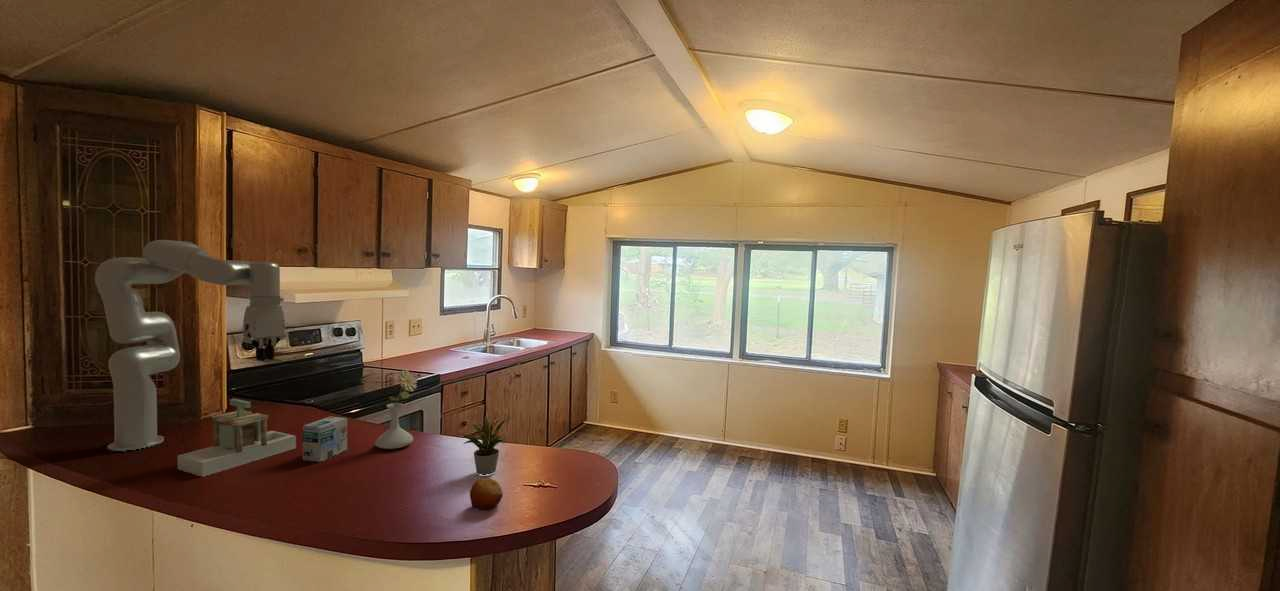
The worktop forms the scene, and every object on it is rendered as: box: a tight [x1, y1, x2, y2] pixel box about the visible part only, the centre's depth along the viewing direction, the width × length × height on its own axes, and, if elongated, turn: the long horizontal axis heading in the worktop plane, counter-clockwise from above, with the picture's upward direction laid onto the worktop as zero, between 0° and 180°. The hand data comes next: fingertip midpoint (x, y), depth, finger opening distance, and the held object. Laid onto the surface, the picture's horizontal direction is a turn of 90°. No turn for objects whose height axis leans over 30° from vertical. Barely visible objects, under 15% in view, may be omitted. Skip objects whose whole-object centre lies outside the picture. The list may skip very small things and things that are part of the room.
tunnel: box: [211, 409, 269, 452], centre depth 148 cm, size 13×8×9 cm, turn 68°
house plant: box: [459, 416, 511, 475], centre depth 143 cm, size 14×14×16 cm
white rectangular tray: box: [177, 430, 297, 478], centre depth 148 cm, size 12×25×4 cm, turn 158°
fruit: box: [469, 477, 503, 511], centre depth 122 cm, size 8×8×8 cm
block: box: [235, 425, 255, 449], centre depth 148 cm, size 5×5×5 cm
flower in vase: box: [374, 369, 418, 450], centre depth 162 cm, size 13×11×25 cm
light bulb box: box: [302, 415, 348, 463], centre depth 152 cm, size 11×7×11 cm, turn 168°
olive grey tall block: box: [220, 398, 261, 449], centre depth 148 cm, size 8×7×13 cm
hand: (265, 359), depth 154 cm, fingers closed
